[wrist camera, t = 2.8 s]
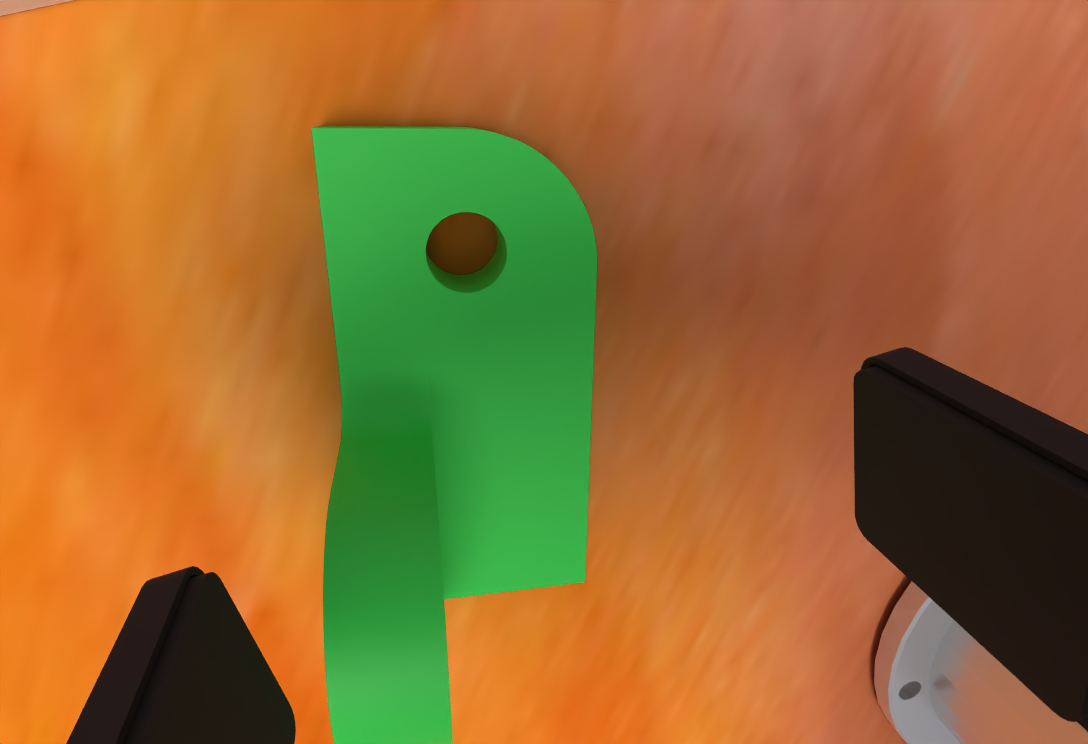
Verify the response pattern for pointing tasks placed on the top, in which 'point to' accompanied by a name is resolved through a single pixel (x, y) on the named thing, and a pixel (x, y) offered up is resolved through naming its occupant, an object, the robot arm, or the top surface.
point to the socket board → (25, 5)
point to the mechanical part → (446, 407)
